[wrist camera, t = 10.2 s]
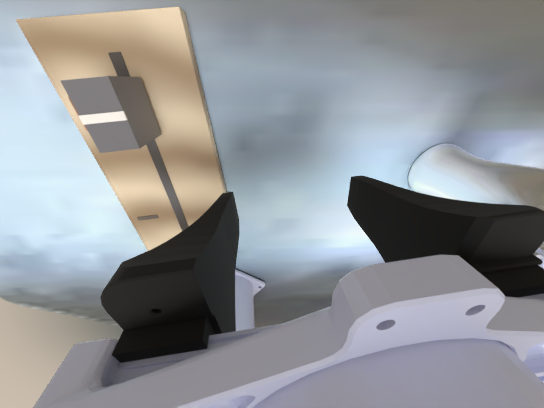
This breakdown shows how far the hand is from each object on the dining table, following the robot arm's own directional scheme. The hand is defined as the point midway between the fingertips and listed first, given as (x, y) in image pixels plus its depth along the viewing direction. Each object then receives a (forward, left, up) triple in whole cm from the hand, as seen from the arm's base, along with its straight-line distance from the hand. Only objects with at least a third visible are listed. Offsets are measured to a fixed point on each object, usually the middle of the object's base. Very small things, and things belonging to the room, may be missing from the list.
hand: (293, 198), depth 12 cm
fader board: (-7, +8, -9) cm, 14 cm away
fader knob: (-4, +11, -7) cm, 14 cm away
